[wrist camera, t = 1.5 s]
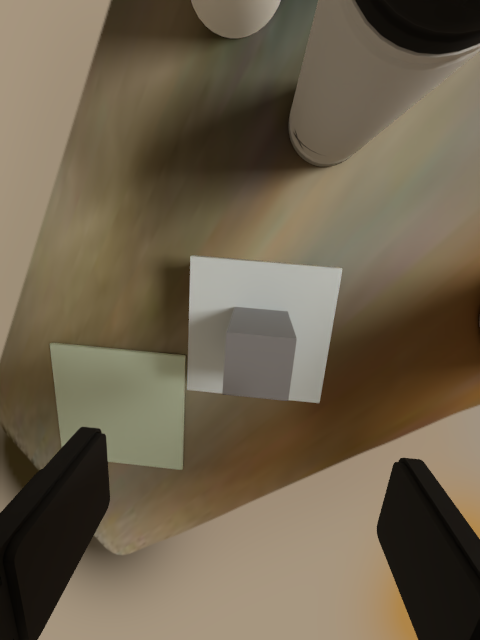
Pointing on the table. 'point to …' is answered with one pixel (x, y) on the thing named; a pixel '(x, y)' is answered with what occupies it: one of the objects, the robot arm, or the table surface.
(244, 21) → the cylindrical container
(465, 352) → the table surface
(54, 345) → the mat
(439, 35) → the travel mug
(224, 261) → the lid
